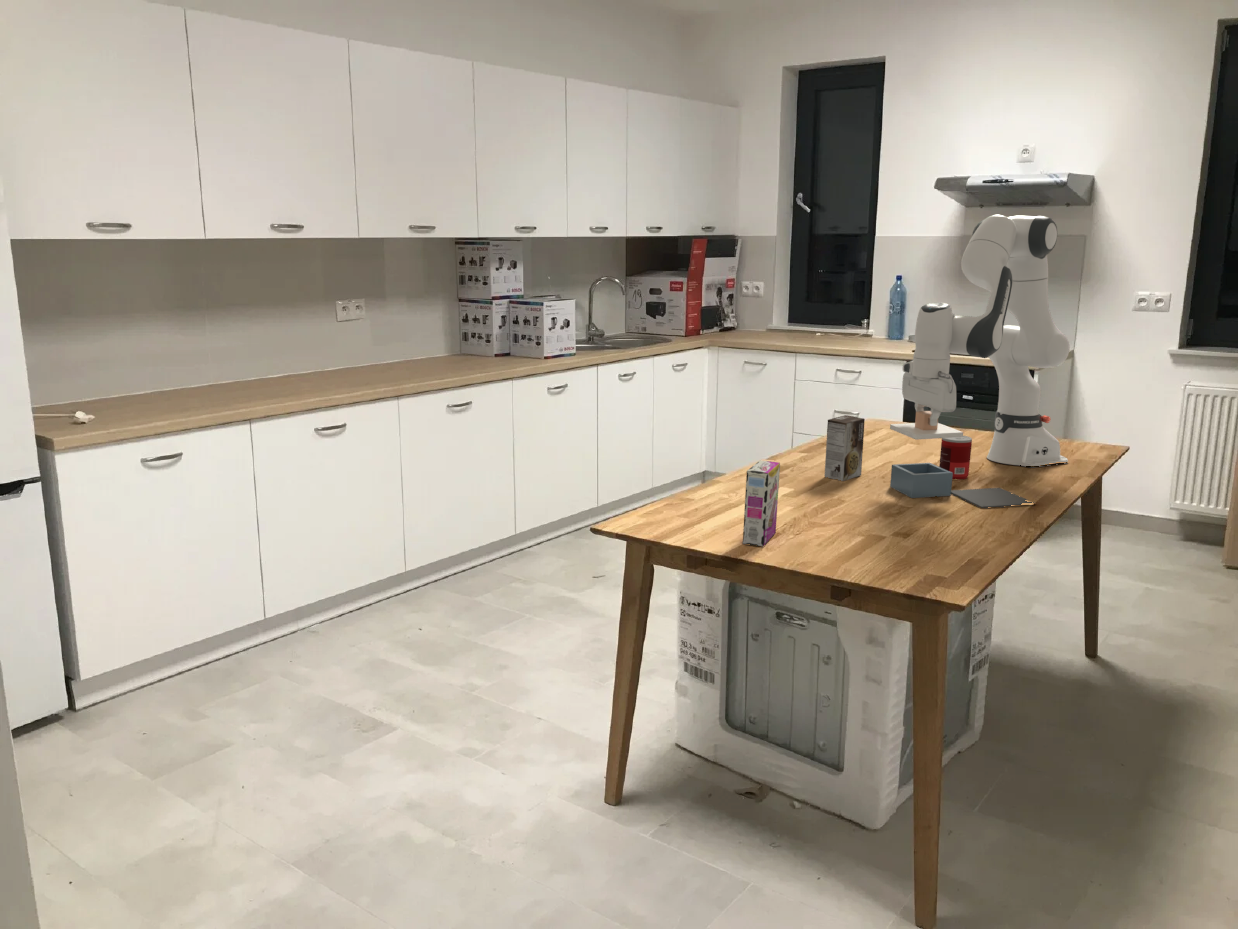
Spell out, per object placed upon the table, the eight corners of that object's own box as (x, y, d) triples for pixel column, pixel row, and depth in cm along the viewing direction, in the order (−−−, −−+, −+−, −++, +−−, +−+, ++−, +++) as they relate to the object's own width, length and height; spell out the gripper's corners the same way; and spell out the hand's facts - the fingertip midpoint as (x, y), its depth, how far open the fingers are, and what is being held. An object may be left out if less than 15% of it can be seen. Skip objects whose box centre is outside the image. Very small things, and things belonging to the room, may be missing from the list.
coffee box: (841, 471, 269) (845, 414, 265) (861, 475, 264) (866, 418, 260) (823, 477, 262) (826, 418, 259) (843, 481, 258) (847, 422, 254)
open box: (927, 484, 256) (929, 462, 254) (950, 495, 245) (952, 472, 244) (890, 486, 253) (891, 464, 252) (911, 498, 243) (913, 474, 241)
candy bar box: (764, 548, 204) (768, 473, 200) (742, 545, 206) (745, 470, 202) (777, 533, 214) (781, 461, 210) (755, 530, 216) (758, 459, 212)
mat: (999, 489, 252) (999, 487, 251) (1035, 505, 237) (1036, 503, 237) (947, 492, 248) (947, 490, 248) (981, 508, 234) (981, 506, 234)
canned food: (973, 476, 265) (977, 437, 262) (960, 481, 259) (964, 441, 256) (946, 471, 270) (950, 433, 267) (933, 476, 264) (937, 437, 261)
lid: (935, 426, 253) (936, 406, 252) (962, 436, 241) (964, 416, 240) (889, 428, 250) (891, 409, 249) (915, 439, 238) (917, 418, 237)
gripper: (965, 374, 232) (960, 430, 236) (921, 362, 252) (917, 414, 255) (941, 375, 231) (937, 432, 235) (899, 363, 250) (895, 416, 254)
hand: (926, 423), depth 245 cm, fingers closed on lid, 4 cm apart
